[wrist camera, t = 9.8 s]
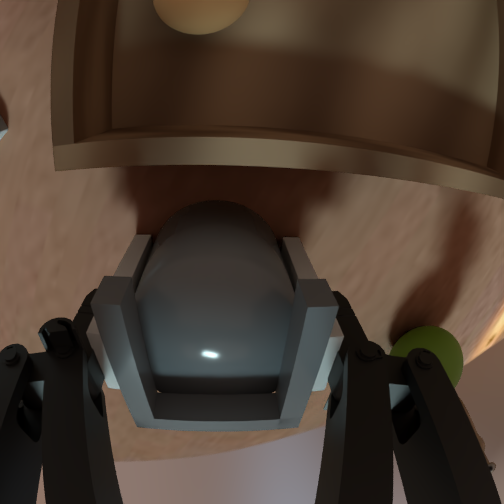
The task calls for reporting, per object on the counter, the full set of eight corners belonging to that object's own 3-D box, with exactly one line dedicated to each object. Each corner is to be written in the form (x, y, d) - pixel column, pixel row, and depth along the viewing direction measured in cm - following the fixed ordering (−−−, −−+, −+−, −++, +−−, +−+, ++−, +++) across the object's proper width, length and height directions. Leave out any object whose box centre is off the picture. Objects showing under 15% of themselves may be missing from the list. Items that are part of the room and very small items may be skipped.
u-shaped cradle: (160, 308, 16) (137, 426, 9) (148, 199, 13) (90, 303, 7) (272, 309, 16) (297, 427, 10) (285, 202, 13) (339, 306, 7)
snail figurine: (428, 286, 17) (535, 438, 6) (444, 335, 20) (517, 457, 9) (358, 334, 18) (432, 507, 8) (387, 374, 21) (443, 505, 10)
